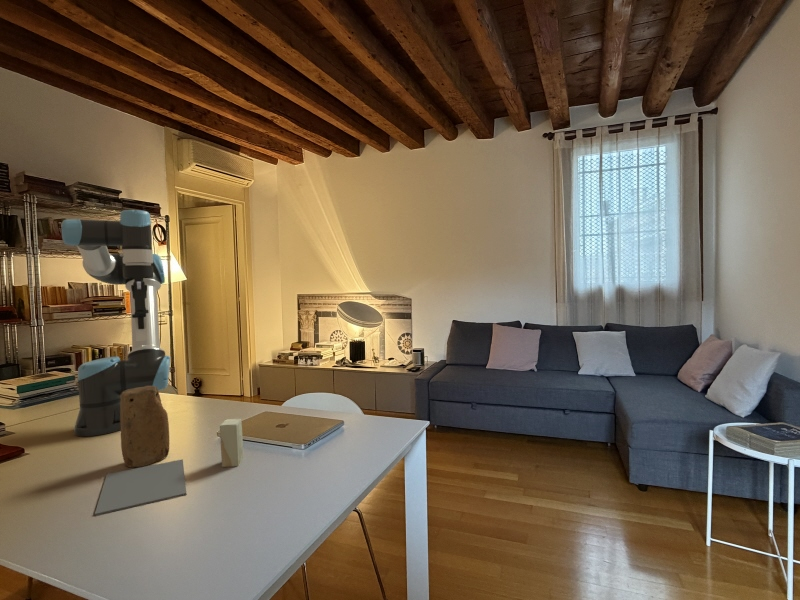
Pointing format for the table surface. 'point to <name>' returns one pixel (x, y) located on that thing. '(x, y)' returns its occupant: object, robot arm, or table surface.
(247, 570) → the table surface
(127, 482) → the mat
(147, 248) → the robot arm
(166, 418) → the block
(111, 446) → the table surface
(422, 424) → the table surface
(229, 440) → the box
